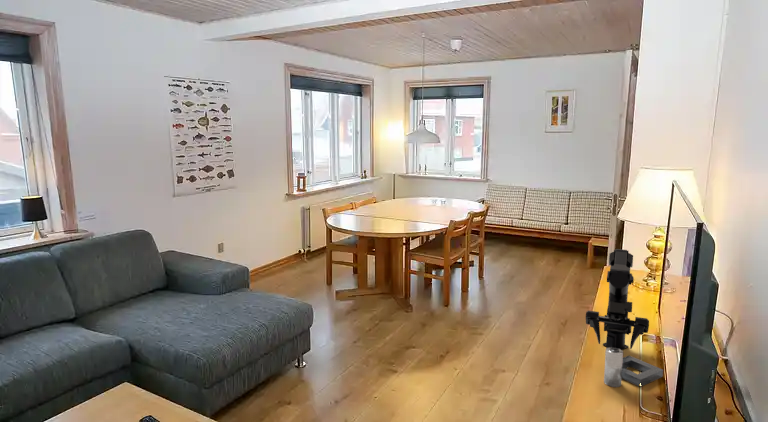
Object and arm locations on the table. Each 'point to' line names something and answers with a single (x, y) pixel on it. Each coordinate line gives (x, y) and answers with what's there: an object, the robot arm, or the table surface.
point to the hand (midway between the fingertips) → (614, 345)
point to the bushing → (613, 367)
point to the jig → (647, 374)
